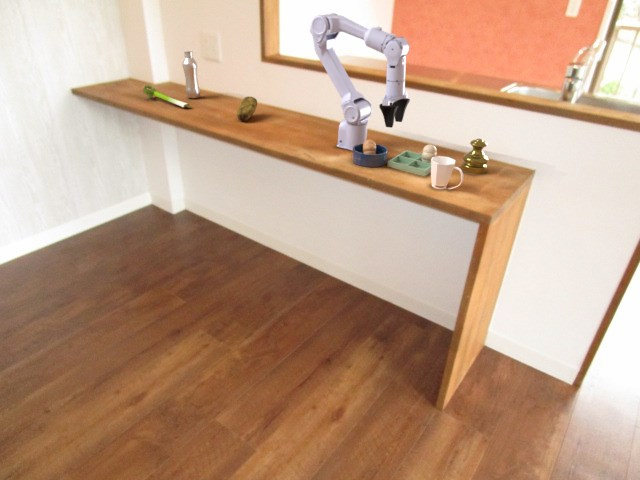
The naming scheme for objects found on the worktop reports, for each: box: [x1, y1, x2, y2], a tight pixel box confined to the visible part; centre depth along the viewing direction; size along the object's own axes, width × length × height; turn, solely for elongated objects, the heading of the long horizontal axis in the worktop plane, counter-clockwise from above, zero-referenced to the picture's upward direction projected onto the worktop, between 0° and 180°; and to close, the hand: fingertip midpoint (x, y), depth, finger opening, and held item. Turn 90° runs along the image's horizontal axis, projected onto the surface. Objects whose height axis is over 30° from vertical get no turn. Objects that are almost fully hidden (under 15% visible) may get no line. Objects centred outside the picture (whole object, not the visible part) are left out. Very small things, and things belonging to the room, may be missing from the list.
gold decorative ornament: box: [460, 138, 489, 175], centre depth 141 cm, size 7×7×10 cm
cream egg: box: [421, 143, 438, 163], centre depth 144 cm, size 4×4×7 cm
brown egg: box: [363, 138, 377, 154], centre depth 147 cm, size 4×4×7 cm
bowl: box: [351, 143, 389, 168], centre depth 146 cm, size 11×11×4 cm
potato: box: [236, 96, 258, 122], centre depth 184 cm, size 8×13×8 cm, turn 151°
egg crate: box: [386, 149, 431, 177], centre depth 144 cm, size 13×13×2 cm
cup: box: [430, 155, 464, 191], centre depth 129 cm, size 7×10×8 cm
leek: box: [142, 84, 191, 109], centre depth 204 cm, size 6×7×30 cm
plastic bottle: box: [181, 51, 201, 99], centre depth 208 cm, size 6×7×20 cm
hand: (394, 124), depth 148 cm, fingers open, 7 cm apart
